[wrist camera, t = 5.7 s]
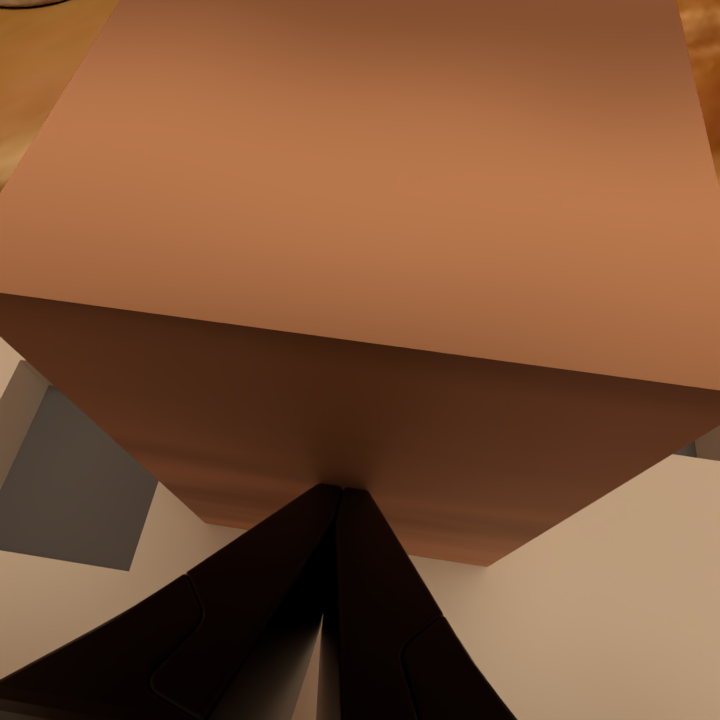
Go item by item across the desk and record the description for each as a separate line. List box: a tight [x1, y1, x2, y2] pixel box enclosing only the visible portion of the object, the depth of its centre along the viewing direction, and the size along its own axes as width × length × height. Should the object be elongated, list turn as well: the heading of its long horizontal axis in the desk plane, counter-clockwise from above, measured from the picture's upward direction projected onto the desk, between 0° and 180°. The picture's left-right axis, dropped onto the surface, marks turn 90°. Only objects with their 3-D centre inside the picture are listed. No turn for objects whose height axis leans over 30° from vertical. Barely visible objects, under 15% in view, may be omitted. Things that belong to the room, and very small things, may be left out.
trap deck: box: [0, 337, 720, 720], centre depth 14 cm, size 17×22×2 cm
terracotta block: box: [0, 0, 720, 567], centre depth 11 cm, size 7×7×10 cm
